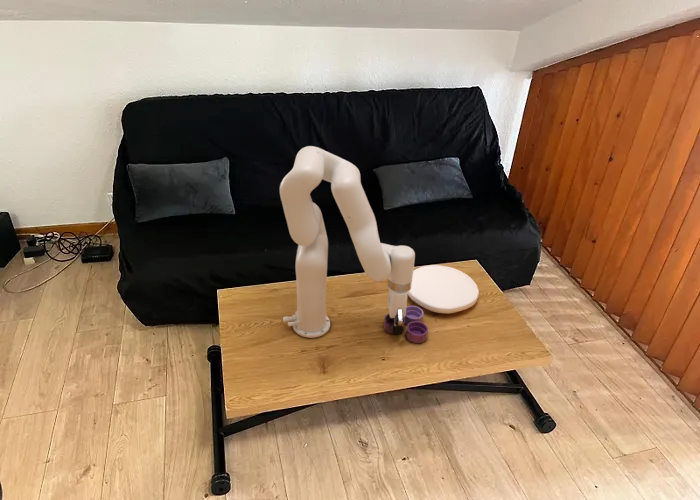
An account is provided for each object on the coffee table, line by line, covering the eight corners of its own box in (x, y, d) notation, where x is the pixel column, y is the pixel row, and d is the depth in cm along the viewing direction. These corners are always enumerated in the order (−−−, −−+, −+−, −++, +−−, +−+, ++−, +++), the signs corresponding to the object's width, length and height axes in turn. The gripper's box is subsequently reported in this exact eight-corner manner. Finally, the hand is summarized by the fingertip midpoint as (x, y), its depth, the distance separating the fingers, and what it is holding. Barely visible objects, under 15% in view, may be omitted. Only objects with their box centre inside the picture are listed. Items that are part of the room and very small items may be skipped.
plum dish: (409, 345, 160) (411, 336, 158) (402, 331, 165) (404, 322, 163) (429, 342, 161) (431, 333, 159) (422, 328, 167) (423, 320, 165)
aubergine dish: (387, 336, 163) (388, 327, 161) (381, 322, 168) (381, 314, 166) (406, 333, 164) (408, 325, 162) (400, 320, 170) (401, 311, 168)
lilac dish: (406, 328, 167) (407, 319, 165) (399, 315, 172) (400, 306, 170) (425, 325, 168) (426, 317, 166) (418, 313, 174) (419, 304, 172)
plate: (429, 254, 197) (492, 281, 184) (426, 268, 200) (487, 295, 187) (392, 280, 176) (459, 311, 163) (389, 295, 179) (455, 327, 166)
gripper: (385, 266, 163) (382, 307, 172) (390, 299, 149) (386, 341, 158) (408, 267, 164) (403, 307, 173) (415, 299, 149) (410, 341, 158)
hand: (395, 323), depth 165 cm, fingers open, 9 cm apart
